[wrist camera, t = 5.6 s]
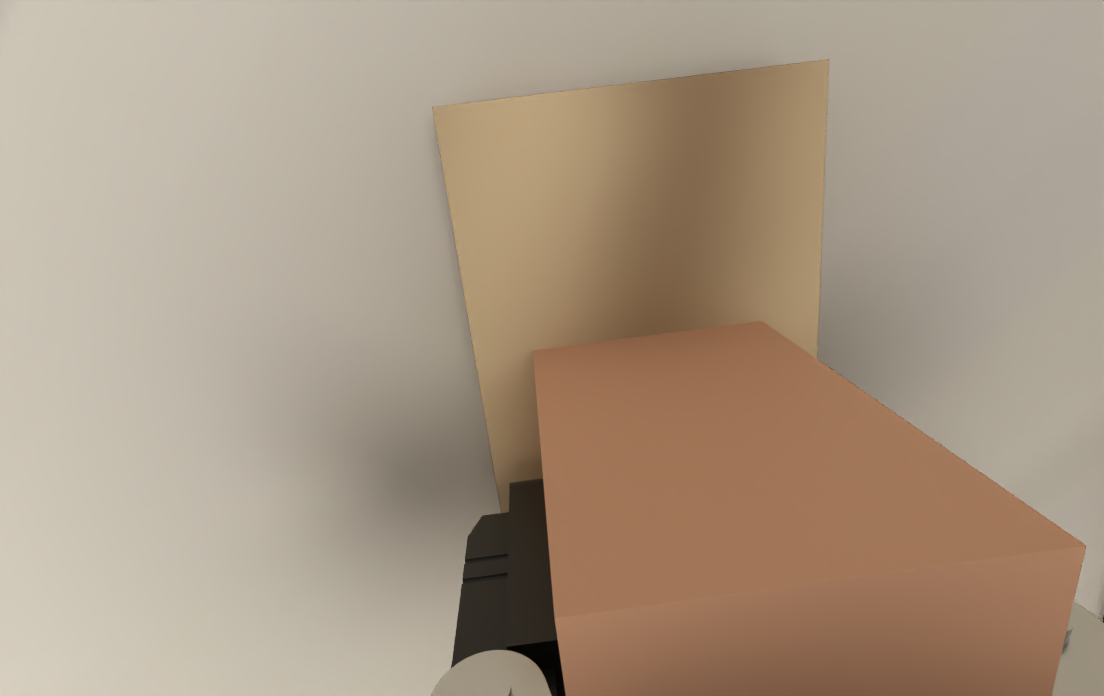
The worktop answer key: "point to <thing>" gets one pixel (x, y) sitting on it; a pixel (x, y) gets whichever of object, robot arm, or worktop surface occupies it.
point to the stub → (721, 411)
